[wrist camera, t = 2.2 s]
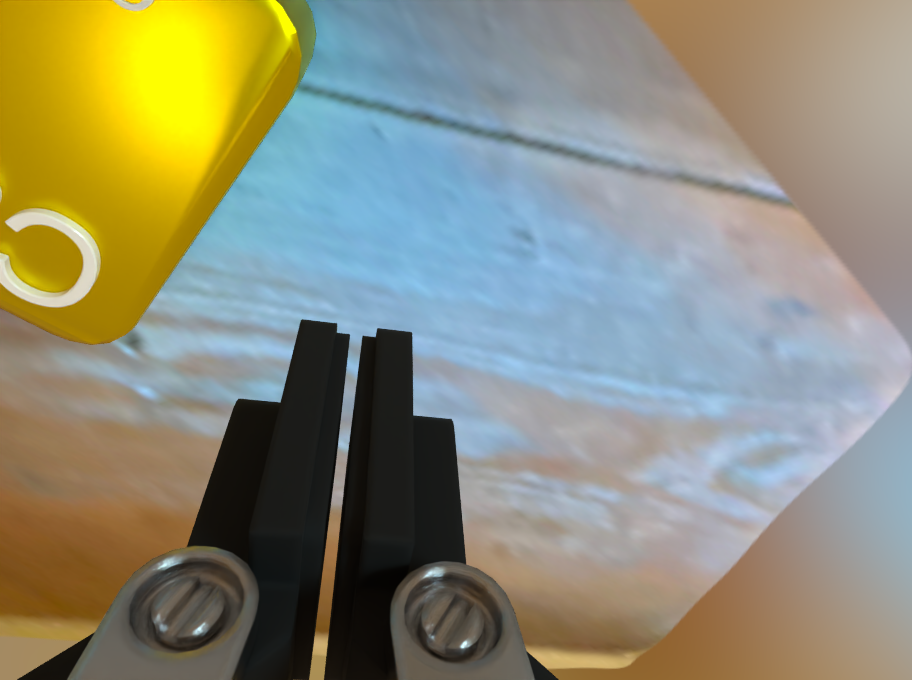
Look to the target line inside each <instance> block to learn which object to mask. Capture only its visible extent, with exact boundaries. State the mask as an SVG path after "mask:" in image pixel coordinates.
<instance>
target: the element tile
mask: <svg viewBox="0 0 912 680" xmlns="http://www.w3.org/2000/svg"><path fill="white" fill-rule="evenodd" d="M315 39H316V30H315V25H314V19H313V14H312V11H311V9H310V7H309V5H308V4H307V2H306V0H0V308H1V309H3V310H5V311H7V312H9V313H11V314H13V315H15V316H17V317H19V318H21V319H23V320H25V321H27V322H29V323H31V324H33V325H35V326H37V327H39V328H41V329H43V330H45V331H47V332H49V333H51V334H54V335H56V336H59V337H61V338H64V339H67V340H69V341H74V342H79V343H84V344H89V345H95V344H104V343H110V342H112V341H114V340H116V339H118V338H120V337H122V336H124V335H126V334H127V333H128V332H130V331H131V330H132V329H133V328H135V326H136V325H137V323H138V322H139V320H140V319H141V317H142V316H143V314H144V313H145V312H146V310H147V309H148V307H149V306H150V304H151V303H152V301H153V300H154V298H155V297H156V295H157V294H158V293H159V291H160V290H161V288H162V287H163V285H164V284H165V282H166V281H167V279H168V278H169V277H170V275H171V274H172V272H173V271H174V269H175V268H176V266H177V265H178V263H179V262H180V260H181V259H182V258H183V256H184V255H185V253H186V252H187V250H188V249H189V247H190V246H191V244H192V243H193V242H194V240H195V239H196V237H197V236H198V234H199V233H200V231H201V230H202V228H203V227H204V225H205V224H206V223H207V221H208V220H209V218H210V217H211V215H212V214H213V212H214V211H215V209H216V208H217V207H218V205H219V204H220V202H221V201H222V199H223V198H224V196H225V195H226V193H227V192H228V190H229V189H230V188H231V186H232V185H233V183H234V182H235V180H236V179H237V177H238V176H239V174H240V173H241V172H242V170H243V169H244V167H245V166H246V164H247V163H248V161H249V160H250V158H251V157H252V155H253V154H254V153H255V151H256V150H257V148H258V147H259V145H260V144H261V142H262V141H263V139H264V138H265V137H266V135H267V134H268V132H269V131H270V129H271V128H272V126H273V125H274V123H275V122H276V120H277V119H278V118H279V116H280V115H281V113H282V112H283V110H284V109H285V107H286V106H287V104H288V103H289V102H290V100H291V99H292V97H293V95H294V93H295V91H296V89H297V87H298V85H299V84H300V82H301V80H302V78H303V76H304V74H305V72H306V70H307V68H308V65H309V63H310V61H311V59H312V56H313V50H314V45H315Z"/></svg>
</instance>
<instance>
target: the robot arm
mask: <svg viewBox="0 0 912 680" xmlns="http://www.w3.org/2000/svg"><path fill="white" fill-rule="evenodd" d="M349 339H350V334H342V333H337V323H328V322H320V321H311V320H301V323H300V326H299V330H298V334H297V338H296V342H295V346H294V350H293V355H292V359H291V363H290V367H289V371H288V375H287V379H286V383H285V387H284V391H283V395H282V399H281V403H279V402H268V401H258V400H248V399H238V400H237V401H236V403H235V406H234V408H233V411H232V414H231V417H230V420H229V423H228V426H227V429H226V432H225V435H224V438H223V441H222V444H221V447H220V450H219V453H218V456H217V459H216V462H215V465H214V468H213V471H212V474H211V477H210V480H209V483H208V485H207V488H206V491H205V494H204V497H203V500H202V503H201V506H200V509H199V512H198V515H197V518H196V521H195V524H194V527H193V530H192V533H191V536H190V539H189V542H188V545H187V547H185V548H180V549H175V550H171V551H169V552H167V553H165V554H162V555H160V556H158V557H155V558H153V559H151V560H150V561H149V562H147V563H146V564H145V565H143V566H142V567H141V568H139V569H138V570H137V571H135V572H134V573H133V574H132V576H131V577H130V578H129V579H128V581H127V582H126V583H125V584H124V586H123V587H122V588H121V589H120V591H119V593H118V594H117V596H116V598H115V599H114V601H113V603H112V605H111V606H110V608H109V610H108V611H107V613H106V615H105V616H104V618H103V620H102V621H101V623H100V625H99V626H98V628H97V630H96V631H95V633H93V634H91V635H90V636H88V637H86V638H85V639H83V640H81V641H80V642H78V643H77V644H75V645H73V646H72V647H70V648H68V649H67V650H65V651H63V652H62V653H60V654H59V655H57V656H55V657H54V658H52V659H50V660H49V661H47V662H45V663H44V664H42V665H40V666H39V667H37V668H36V669H34V670H32V671H31V672H29V673H27V674H26V675H24V676H22V677H21V678H19V679H17V680H309V676H310V668H311V660H312V652H313V644H314V636H315V628H316V620H317V612H318V604H319V596H320V588H321V580H322V572H323V564H324V556H325V548H326V539H327V531H328V523H329V515H330V507H331V499H332V491H333V483H334V475H335V466H336V458H337V449H338V439H339V430H340V421H341V412H342V403H343V394H344V385H345V376H346V367H347V358H348V349H349ZM324 680H558V679H557V678H556V677H555V676H554V675H553V674H552V673H551V672H549V671H548V670H547V669H546V668H545V667H544V666H543V665H542V664H541V663H539V662H538V661H537V660H536V659H535V658H534V657H533V656H532V655H530V654H529V653H528V652H527V651H526V648H525V645H524V642H523V638H522V635H521V632H520V629H519V625H518V622H517V619H516V615H515V612H514V609H513V607H512V605H511V603H510V601H509V599H508V597H507V595H506V593H505V592H504V591H503V589H502V588H501V587H500V586H499V585H498V584H497V583H496V581H495V580H494V579H493V578H491V577H490V576H488V575H487V574H485V573H484V572H482V571H481V570H479V569H477V568H474V567H472V566H469V565H466V557H465V545H464V534H463V523H462V511H461V500H460V489H459V477H458V466H457V455H456V443H455V432H454V425H453V421H452V419H444V418H434V417H423V416H413V357H412V332H406V331H397V330H388V329H380V328H377V333H376V337H369V336H363V337H362V345H361V353H360V361H359V369H358V377H357V385H356V394H355V402H354V410H353V418H352V426H351V434H350V442H349V450H348V459H347V467H346V476H345V485H344V495H343V504H342V514H341V523H340V533H339V542H338V552H337V561H336V571H335V580H334V590H333V599H332V609H331V618H330V628H329V637H328V647H327V656H326V666H325V675H324Z"/></svg>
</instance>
